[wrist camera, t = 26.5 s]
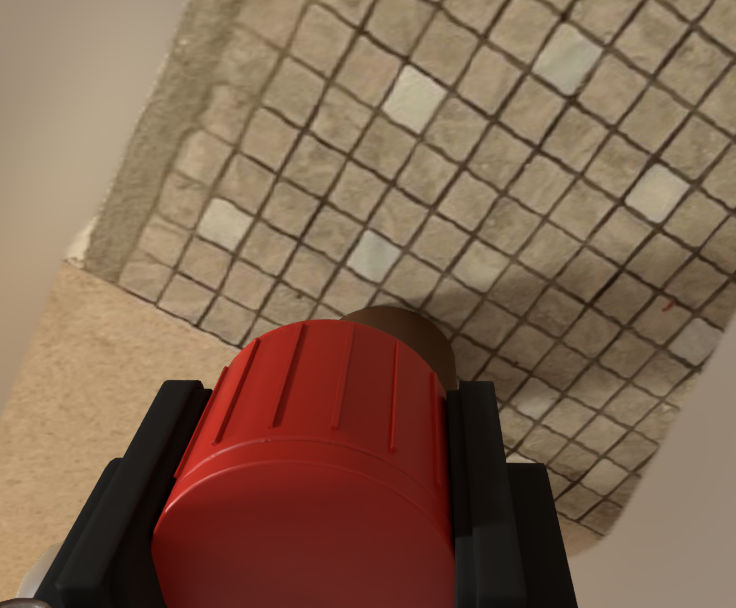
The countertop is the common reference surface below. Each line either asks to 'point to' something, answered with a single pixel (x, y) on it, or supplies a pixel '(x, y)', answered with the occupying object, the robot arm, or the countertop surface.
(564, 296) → the countertop surface
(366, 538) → the cap
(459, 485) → the robot arm
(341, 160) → the countertop surface
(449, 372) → the sauce bottle
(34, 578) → the silver water bottle
